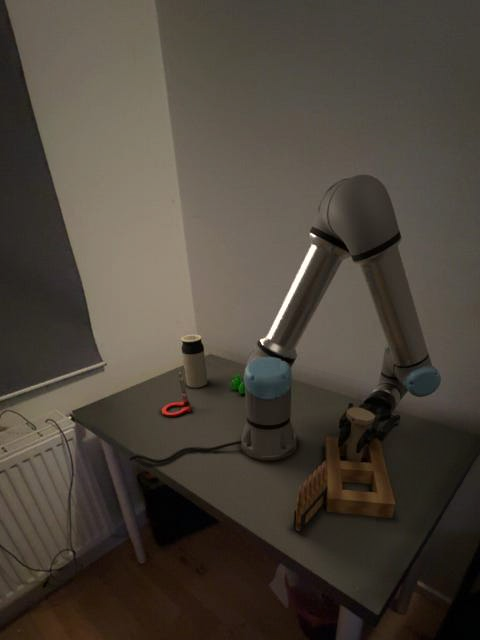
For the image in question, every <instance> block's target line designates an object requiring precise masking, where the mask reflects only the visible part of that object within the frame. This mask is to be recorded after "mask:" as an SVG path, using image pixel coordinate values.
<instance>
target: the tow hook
mask: <svg viewBox="0 0 480 640" xmlns="http://www.w3.org/2000/svg"><path fill="white" fill-rule="evenodd" d="M178 376H179V384H180V390H181V393H182V394H181V396H182V401H180V402H179V401H178V402H177V401H175V402H171V403H168V404H166V405H164V406H163V407H162V408H161V414H162V415H163V416H165V417H170V418H171V417H178V416H181V415H183V414H185V413H186V412H187V413H191V412H192V408H191V406H190V402H189V397H188V393H187V391H186V386H185V381H184V378H183V375H182V372H181V371H179V372H178ZM172 407H173V408H174V407H180V408H181V409H180V410H178V411H175V412H170V411H168V410H169V409H170V408H172Z"/></svg>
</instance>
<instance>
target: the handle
mask: <svg viewBox="0 0 480 640" xmlns="http://www.w3.org/2000/svg"><path fill="white" fill-rule="evenodd" d="M347 409H348V408H347ZM347 409H346V410H347ZM346 416H347V418H348V419H349V420H350V421H351V422H352V423H351V429H350V434H349V439H348V443H347V450H346V456H345V458H346V459H345V461H352V462H362V459H363V458H362V456H363V451H364V447H363V449H362V450H361V451H360V453H356V448H357V442H358V441H359V440H360V438H361V437H362V436H363V434H364V433H365V432H366V430H367V426H370V425H373V422H374V420H375V415H374V414H373V413H371V412H370V411H368V410H365V409H362V408H357V407H353V408H350V409H348V410H347V412H346Z"/></svg>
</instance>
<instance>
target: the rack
mask: <svg viewBox="0 0 480 640" xmlns="http://www.w3.org/2000/svg"><path fill="white" fill-rule="evenodd" d="M325 437H326V438H325V448H324V452H325V455H324V456H325V461H326V464H327V485H326V486H327V487H328V489H327V500H326V513H327V512H328V513H337V514H346V515H358V516H365V517H376V518H385V519H393V517H394V512H395V508H396V501H395V496H394V493H393V487H392V485H391V481H390V477H389V472H388V468H387V464H386V460H385V457H384V454H383V453H384V452H383V450H382V449H383V448H382V445H381V441H379V440H378V439H375V440H373V441H372V443H371V444H370V445H366V444H365V446H364V451H363V456H362V459H365V460H366V462H363V461H361V462H352V461H346V460H341V457H346V450H347V443H348V439H349V438H348V439H347V440H346V442H345V443H344V444H343V445H342V447H341V448H340V447H338V439H339V436H331V435H330V436H329V435H326V436H325ZM343 483H352V484H364V485H370V486H371V491H362V490H351V489H343Z"/></svg>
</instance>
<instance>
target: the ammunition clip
mask: <svg viewBox="0 0 480 640" xmlns="http://www.w3.org/2000/svg"><path fill="white" fill-rule="evenodd" d="M326 485H327V464H326V460H324V461H322V464H320V465H319V466H318V469H315V470H314V471H313V474H310V475H309V477H308V478H307V479H305V480H304V483H303V484H300V486H299V488H298V494H297V499H296V508H295V510H294V513H293V526H292V527H293V529H292V530H293V531H295V532H296V533H298V534H300V535H302V534H303V533H304V531H305V530H306V529H307V528H308V526H310V524H311V523H312V522H313V520H314V519H315V518H316V517H317V516H318V514H319V513H320V512H321V511H322V510H323V508H324V507H325V506H327V501H326V500H327V489H328V487H327V486H326Z"/></svg>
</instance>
